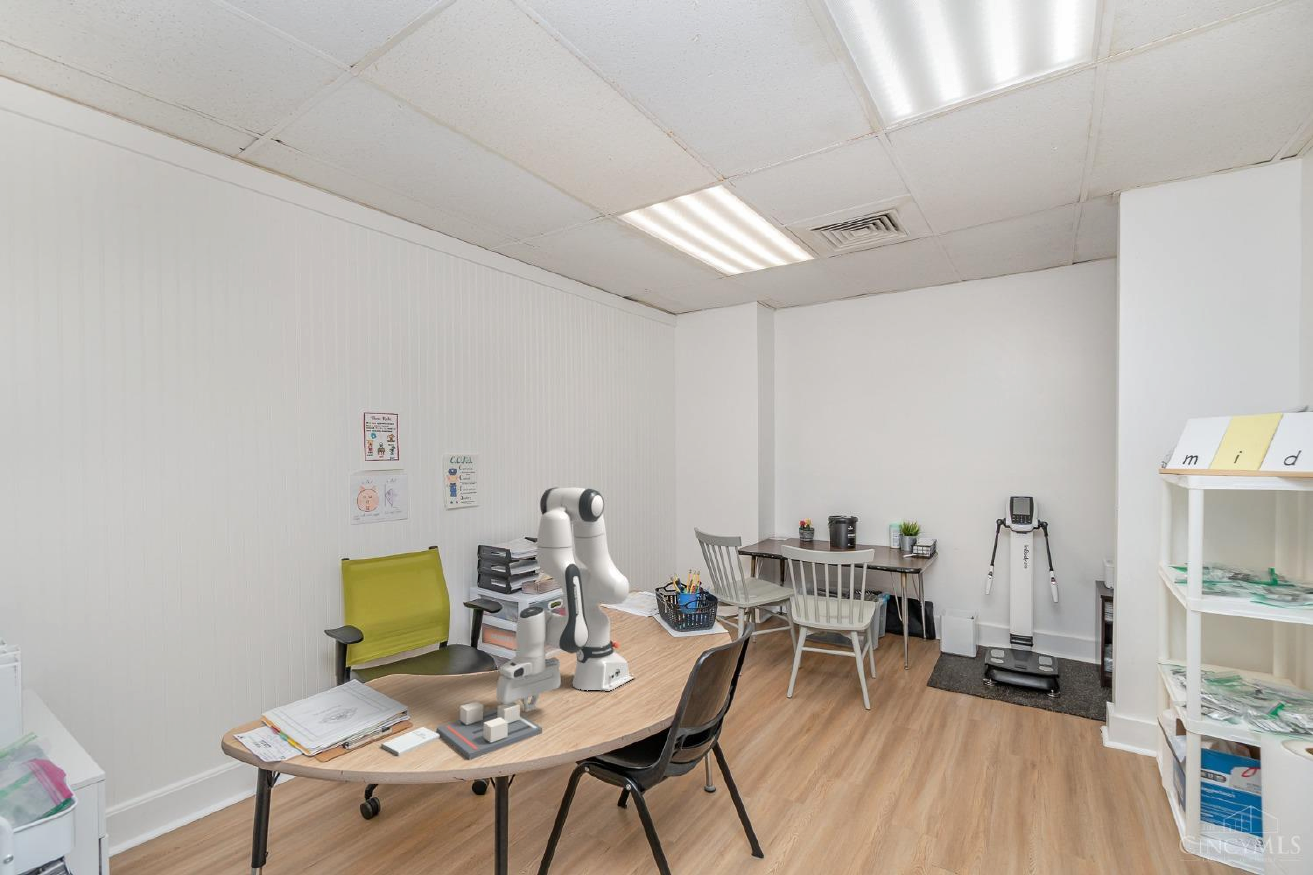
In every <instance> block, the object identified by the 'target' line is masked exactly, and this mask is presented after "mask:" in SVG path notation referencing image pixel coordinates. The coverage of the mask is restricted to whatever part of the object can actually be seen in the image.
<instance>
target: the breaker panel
mask: <svg viewBox="0 0 1313 875" xmlns="http://www.w3.org/2000/svg"><path fill="white" fill-rule="evenodd" d="M497 715H498V707H497V708H493V709H490V710H487V711H483V720H480V721H477V722H474V723H471V724H468V725H466V724H465V723H463V722H462V721H461V720H460V719H458V720H456V721H453V722H449V723H445V724H442V725H439V726H437V727H436V733H438V734H439V735H440V738H442V739H443V740H445V741H446V742H447V743H449V745H451V746H452V745H453V746H452V747H453V748H454V749H456V750H457V751H458V752H459V753H461V754H462V755H463V756H464V757H465V758H467V759H468V761H469V760H473V759H475V758H478V757H481V756H483V755H486V754H489V753H491V752H495V751H498V750H500V749H503V748H505V747H508V746H511V745H513V744H515V743H519V742H522V741H524V740H527V739H531V738H532V737H535V736H538V735H541V734H543V727H542V726H540V725H539V724H538V723H535V722H534V721H532V720H530V719H529V718H527V717H526V716H525V715H523V714H521V713H520V720H517V721H514V722H511V723H508V732H507V737H505V738H503V739H500V740H497V741H494V742H491V743H490V742H489V741H488V740H486V739H485V738H484V737H483V736H484V722H487V721H490V720H493V719H496V718H497Z"/></svg>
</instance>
